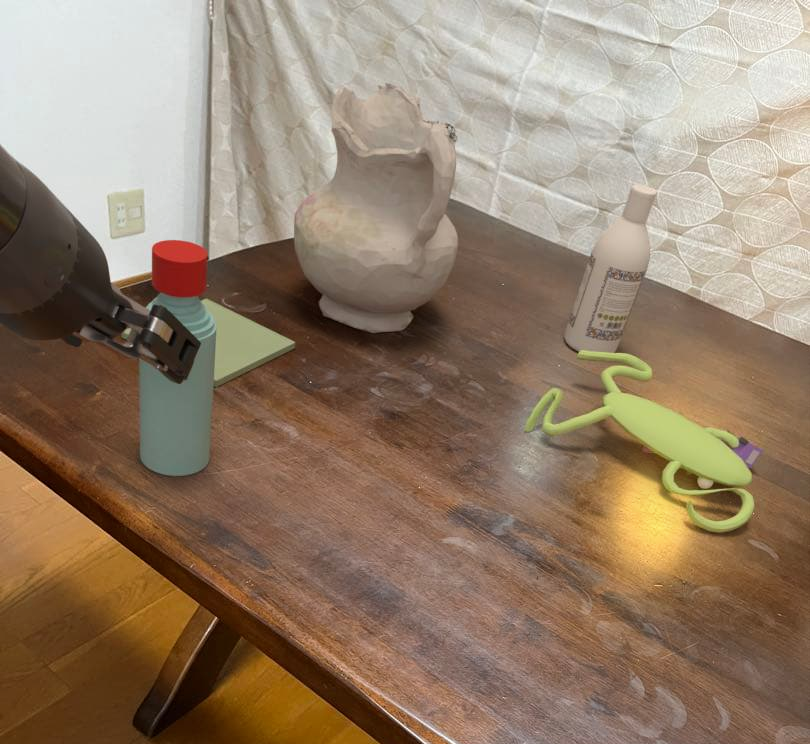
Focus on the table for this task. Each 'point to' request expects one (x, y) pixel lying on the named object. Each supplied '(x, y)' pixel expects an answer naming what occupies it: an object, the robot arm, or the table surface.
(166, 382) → the bottle
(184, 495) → the table surface
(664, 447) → the figurine
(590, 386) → the table surface
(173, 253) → the cap
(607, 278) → the bath foam
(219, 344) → the mat
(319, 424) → the table surface
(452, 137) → the ceramic pitcher
